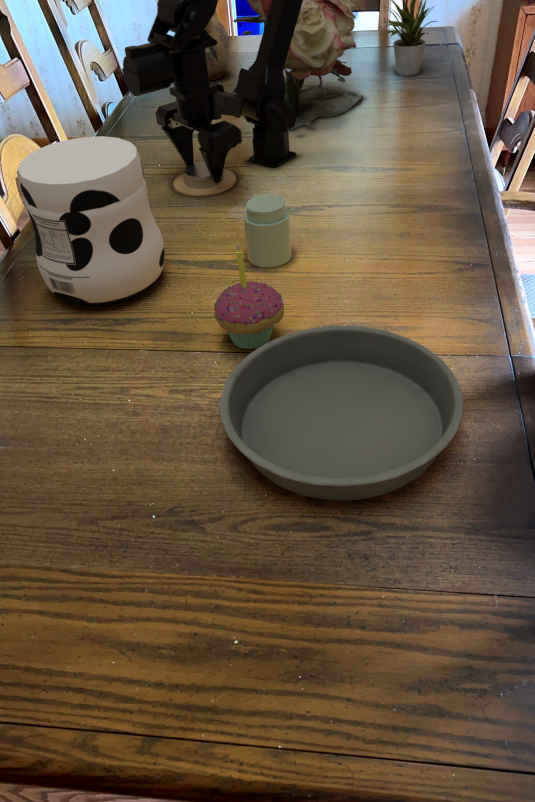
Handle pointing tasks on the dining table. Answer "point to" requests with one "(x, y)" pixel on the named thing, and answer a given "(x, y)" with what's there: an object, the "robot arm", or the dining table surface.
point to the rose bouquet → (314, 56)
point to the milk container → (92, 219)
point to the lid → (199, 176)
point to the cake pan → (341, 411)
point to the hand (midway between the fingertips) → (203, 174)
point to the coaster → (223, 186)
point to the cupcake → (248, 310)
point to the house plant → (408, 38)
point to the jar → (267, 231)
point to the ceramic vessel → (217, 49)
